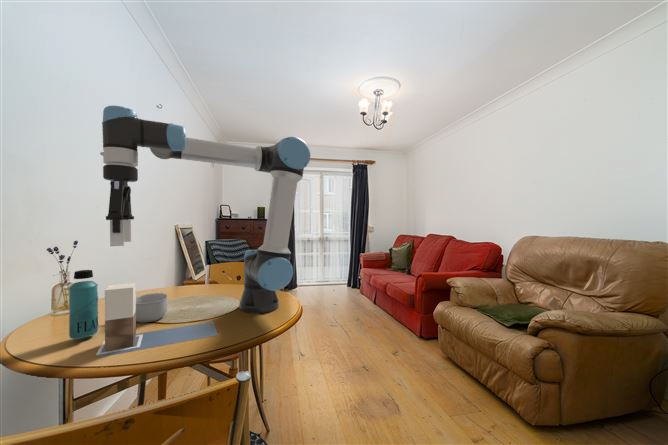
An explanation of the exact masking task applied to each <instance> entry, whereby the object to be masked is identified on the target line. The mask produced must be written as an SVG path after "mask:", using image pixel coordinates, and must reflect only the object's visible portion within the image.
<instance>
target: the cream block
mask: <svg viewBox="0 0 668 445" xmlns="http://www.w3.org/2000/svg"><path fill="white" fill-rule="evenodd" d="M136 284H137V282H130V283H120V284H110V285H108V286H107V287H106V288H105V289H104V322H105V321H107V320H114V319H121V318H129V317H133V316H134V314H135V311H136V297H137V295H136V294H137V288H136V287H137V285H136Z"/></svg>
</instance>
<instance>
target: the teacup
mask: <svg viewBox="0 0 668 445" xmlns="http://www.w3.org/2000/svg"><path fill="white" fill-rule="evenodd" d="M168 299H169V295H168V294H167V293H163V292H152V293H144V294H141V295H136V322H138V323H142V324H143V323H152V322H156V321H159V320H161V319H163V317H164V316H165V315H166V314H167V312H168V307H169V306H168V303H169V301H168Z"/></svg>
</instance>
